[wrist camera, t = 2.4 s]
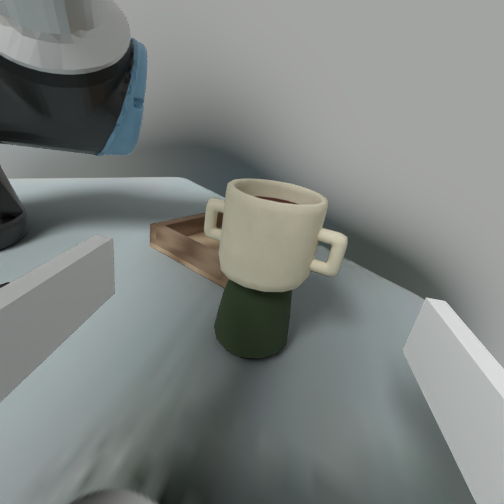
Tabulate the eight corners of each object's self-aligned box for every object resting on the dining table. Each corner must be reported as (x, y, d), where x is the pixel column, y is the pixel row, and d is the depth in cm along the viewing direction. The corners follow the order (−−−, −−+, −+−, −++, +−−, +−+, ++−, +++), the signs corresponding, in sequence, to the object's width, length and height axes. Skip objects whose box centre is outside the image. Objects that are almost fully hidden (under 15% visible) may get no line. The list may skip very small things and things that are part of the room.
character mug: (319, 338, 28) (362, 200, 23) (298, 395, 22) (351, 224, 17) (215, 297, 31) (231, 168, 26) (171, 337, 25) (181, 178, 20)
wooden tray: (149, 245, 40) (150, 224, 38) (235, 222, 53) (238, 205, 52) (227, 289, 33) (231, 265, 32) (303, 250, 46) (308, 232, 45)
